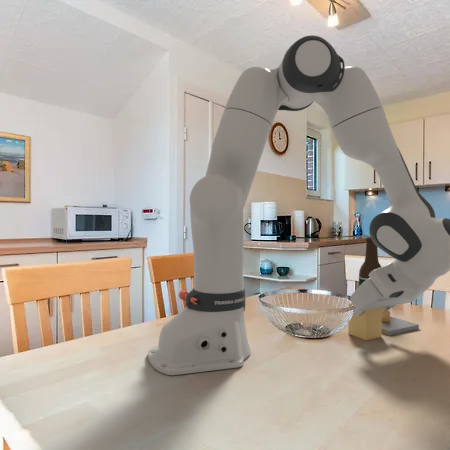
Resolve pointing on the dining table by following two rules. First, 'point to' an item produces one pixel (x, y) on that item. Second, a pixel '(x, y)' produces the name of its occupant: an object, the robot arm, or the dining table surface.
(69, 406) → the dining table surface
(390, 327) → the plate
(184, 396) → the dining table surface
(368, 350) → the dining table surface
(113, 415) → the dining table surface
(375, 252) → the beer bottle
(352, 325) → the tan toy brick
